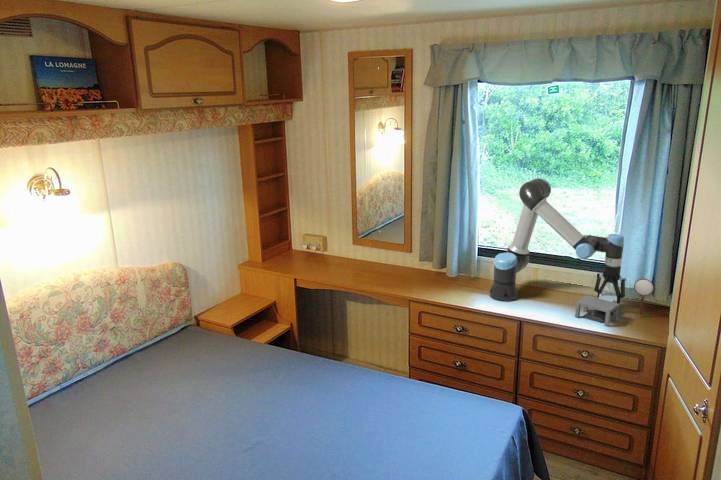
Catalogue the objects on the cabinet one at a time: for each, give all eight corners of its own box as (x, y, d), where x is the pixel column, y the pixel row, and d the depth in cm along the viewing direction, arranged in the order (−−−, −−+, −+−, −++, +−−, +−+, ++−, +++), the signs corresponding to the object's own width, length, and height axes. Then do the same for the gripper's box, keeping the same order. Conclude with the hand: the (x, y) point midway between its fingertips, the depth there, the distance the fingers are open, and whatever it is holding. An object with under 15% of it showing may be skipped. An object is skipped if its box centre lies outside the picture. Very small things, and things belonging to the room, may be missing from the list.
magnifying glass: (649, 317, 260) (655, 279, 254) (649, 319, 258) (655, 280, 253) (630, 314, 264) (635, 276, 259) (629, 315, 263) (635, 277, 257)
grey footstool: (574, 317, 262) (576, 301, 260) (584, 310, 270) (586, 295, 268) (607, 326, 252) (609, 310, 249) (617, 319, 259) (619, 303, 257)
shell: (605, 302, 276) (606, 291, 275) (619, 306, 272) (620, 295, 270) (595, 309, 268) (597, 298, 267) (610, 313, 264) (611, 302, 262)
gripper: (589, 262, 268) (585, 304, 274) (630, 271, 254) (625, 315, 261) (595, 259, 273) (591, 300, 279) (636, 267, 259) (631, 310, 266)
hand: (607, 307), depth 270 cm, fingers closed on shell, 7 cm apart
